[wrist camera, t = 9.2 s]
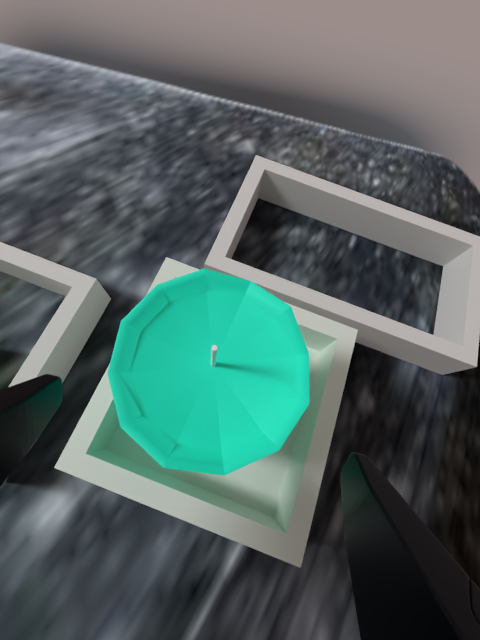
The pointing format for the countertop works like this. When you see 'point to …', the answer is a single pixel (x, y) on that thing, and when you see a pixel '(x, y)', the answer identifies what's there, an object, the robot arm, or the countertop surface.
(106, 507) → the countertop surface
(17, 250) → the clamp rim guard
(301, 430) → the bin
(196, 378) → the candle
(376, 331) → the grey rectangular frame
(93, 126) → the countertop surface
